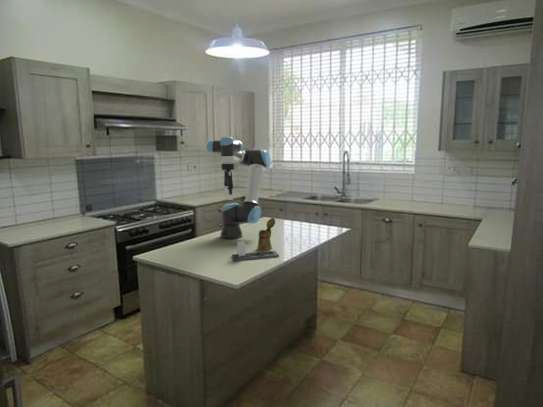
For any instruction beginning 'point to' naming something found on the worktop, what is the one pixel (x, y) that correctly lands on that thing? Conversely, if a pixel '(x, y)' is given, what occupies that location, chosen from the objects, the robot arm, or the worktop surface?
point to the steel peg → (240, 249)
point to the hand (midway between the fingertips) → (228, 198)
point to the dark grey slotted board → (261, 255)
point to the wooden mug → (266, 236)
